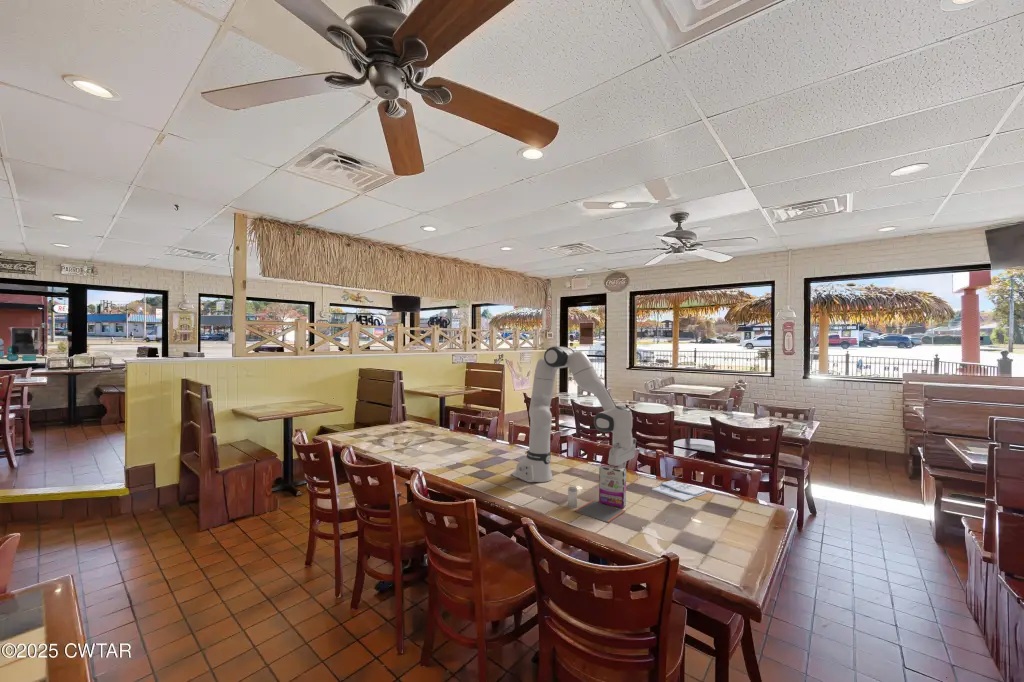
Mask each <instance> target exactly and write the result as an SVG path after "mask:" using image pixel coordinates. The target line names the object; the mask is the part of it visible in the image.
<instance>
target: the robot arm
mask: <svg viewBox="0 0 1024 682" xmlns="http://www.w3.org/2000/svg"><path fill="white" fill-rule="evenodd" d="M567 368H568V369H569V370H570V372H571V374H572V377H573V379H574V381H575V383H576V384H577V386H578V387H579V389H582V390H583V391H587V392H589V393H591V394H593V395H594V396H595V397H596V398H597V400H598V402H599V404H600V405H601V407H602V409H603V411H601V412H597V413H596V414H595V415H594V417H593V425H594V427H595V429H596V430H597V431H598V432H600V433H601V432H602V433H609V432H611V433H612V447H610V449H609V452H608V464H609V465H608V466H614V467H621V468H626V465H627V462H628V461H630V460H632V459H634V457H635V456H636V443H637V439H636V438H635V437H633V430H632V429H633V414H632V413H633V412H632V410H631V409H630V408H629V407H626V406H624V405H616V403H615V401H614V400H613V398H612V396H611V394H610V393H609V391H608V389H607V387H606V386H605V384H604V383H603V382H602V380H601V378H600V377H599V376H598V373H597V372H596V369H595V367H594V365H593V363H592V362H591V360H590V359H589V357H588V355H587V353H585V352H584V351H582V350H577V351H575V350H573V349H572V348H570V347H566V346H551V347H548V348H547V349H546V350H545V352H544V354H543V357H541V358H539V359H538V361H537V363H536V366H535V370H534V374H533V383H532V390H531V397H530V402H529V403H530V404H529V410H528V415H529V419H530V421H529V425H530V427H529V436H528V438H529V440H528V441H529V443H528V450H526V451H525V452H524V454H526V456H525V457H524V458H522V459H520V461H518V462H517V463H516V466H515V467H516V468H515V470H513V471H512V472H511V475H512V476H514V477H515V478H518V479H520V480H522V481H525V482H527V483H545V482H550V481H552V480H553V478H554V477H553V474H552V469H551V468H552V467H551V459H552V458H551V455H552V454H551V432H552V421H553V414H552V412H551V405H552V398H553V396H554V389H555V381H556V380H555V379H556V373H557V371H558V370H559V369H561V370H562V369H567Z"/></svg>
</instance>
